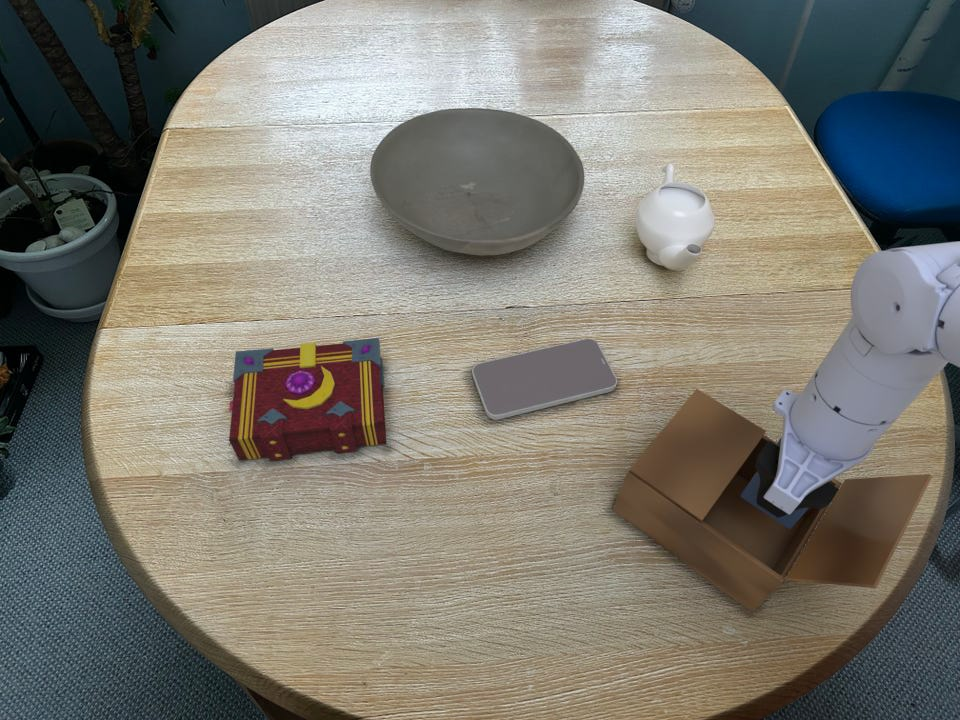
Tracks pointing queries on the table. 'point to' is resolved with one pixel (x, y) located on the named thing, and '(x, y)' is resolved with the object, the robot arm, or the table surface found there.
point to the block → (751, 497)
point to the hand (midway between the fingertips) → (783, 486)
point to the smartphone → (543, 378)
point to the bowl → (477, 179)
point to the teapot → (674, 222)
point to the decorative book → (307, 400)
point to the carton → (713, 502)
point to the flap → (860, 531)
